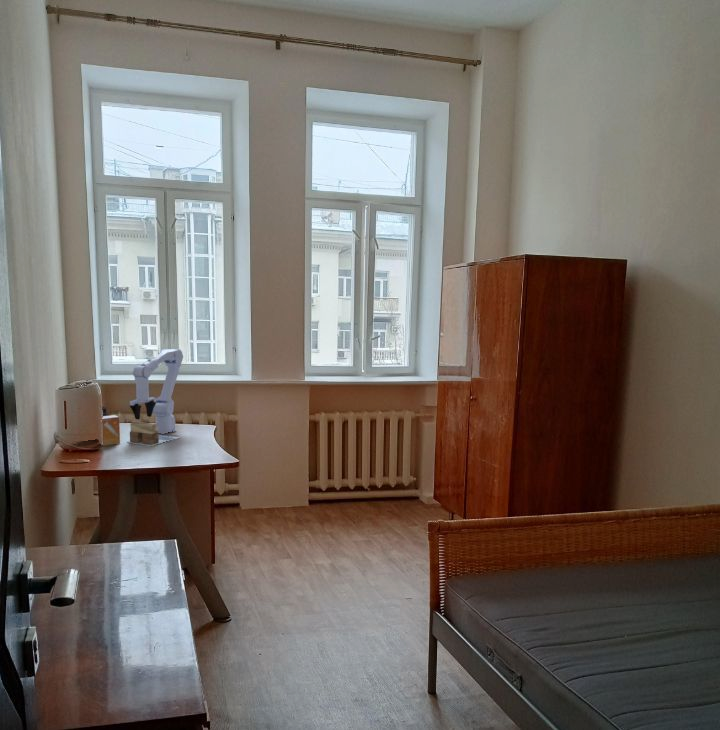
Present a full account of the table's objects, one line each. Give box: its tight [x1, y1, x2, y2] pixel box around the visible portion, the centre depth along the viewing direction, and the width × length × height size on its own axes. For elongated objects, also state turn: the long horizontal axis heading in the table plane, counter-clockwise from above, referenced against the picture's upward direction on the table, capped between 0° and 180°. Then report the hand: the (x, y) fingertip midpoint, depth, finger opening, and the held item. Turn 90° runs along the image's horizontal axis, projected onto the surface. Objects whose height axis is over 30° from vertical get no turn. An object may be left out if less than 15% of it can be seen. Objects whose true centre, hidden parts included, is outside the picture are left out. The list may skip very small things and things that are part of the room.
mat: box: [126, 434, 180, 447], centre depth 274 cm, size 18×16×1 cm
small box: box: [101, 414, 121, 447], centre depth 267 cm, size 8×6×13 cm
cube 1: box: [129, 430, 143, 443], centre depth 270 cm, size 5×5×5 cm
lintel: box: [129, 421, 158, 434], centre depth 268 cm, size 4×13×4 cm, turn 66°
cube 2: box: [142, 432, 159, 445], centre depth 267 cm, size 5×5×5 cm
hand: (143, 417), depth 277 cm, fingers open, 7 cm apart
